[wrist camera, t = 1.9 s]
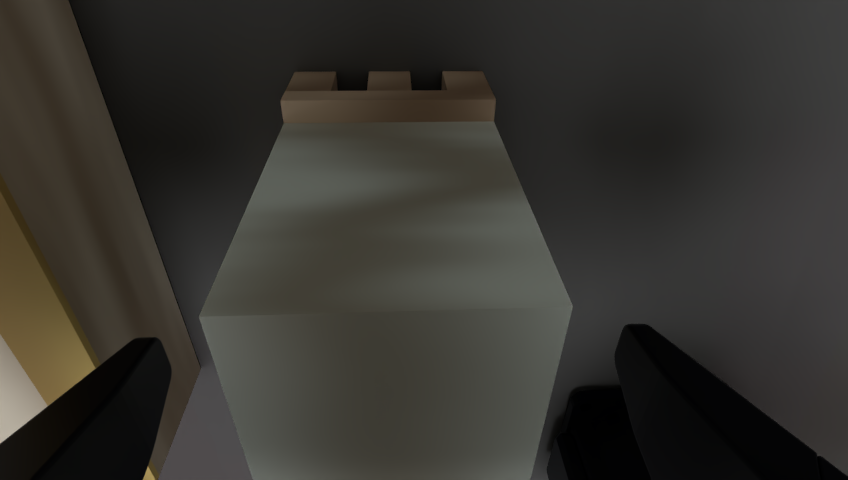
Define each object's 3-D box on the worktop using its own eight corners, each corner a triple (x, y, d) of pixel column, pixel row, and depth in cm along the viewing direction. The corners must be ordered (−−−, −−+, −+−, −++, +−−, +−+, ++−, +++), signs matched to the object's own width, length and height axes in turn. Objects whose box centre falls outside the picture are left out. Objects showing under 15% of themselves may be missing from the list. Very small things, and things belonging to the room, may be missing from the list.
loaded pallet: (482, 71, 13) (580, 275, 6) (465, 286, 17) (513, 548, 10) (294, 71, 12) (188, 285, 6) (323, 290, 16) (279, 560, 10)
